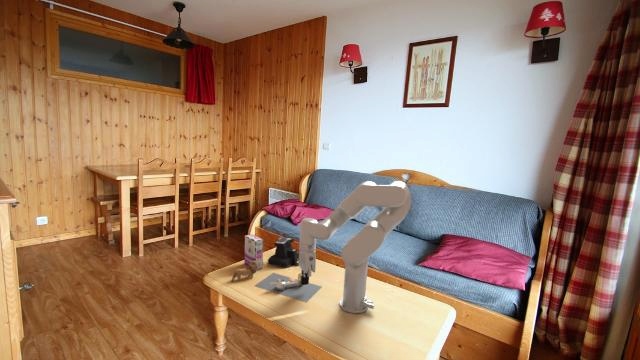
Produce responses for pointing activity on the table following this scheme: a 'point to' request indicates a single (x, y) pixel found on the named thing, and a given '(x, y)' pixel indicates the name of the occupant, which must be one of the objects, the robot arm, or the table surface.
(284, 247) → the camera
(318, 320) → the table surface
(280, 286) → the crank handle
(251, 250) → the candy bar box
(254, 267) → the lion figurine
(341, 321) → the table surface
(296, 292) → the base plate
